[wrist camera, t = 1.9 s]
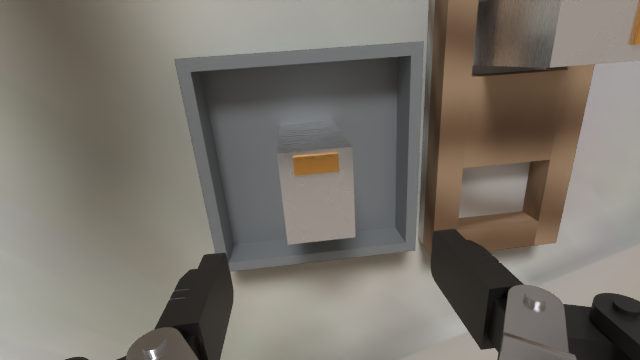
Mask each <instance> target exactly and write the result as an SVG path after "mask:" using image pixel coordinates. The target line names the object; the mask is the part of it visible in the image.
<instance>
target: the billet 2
mask: <svg viewBox="0 0 640 360" xmlns="http://www.w3.org/2000/svg"><path fill="white" fill-rule="evenodd" d="M628 61H640V0H487V1H484V2H481V3H478V12H477V23H476V34H475V45H474V55H473V66H506V67H545V68H551V67H564V66H577V65H589V64H602V63H615V62H628Z"/></svg>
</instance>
